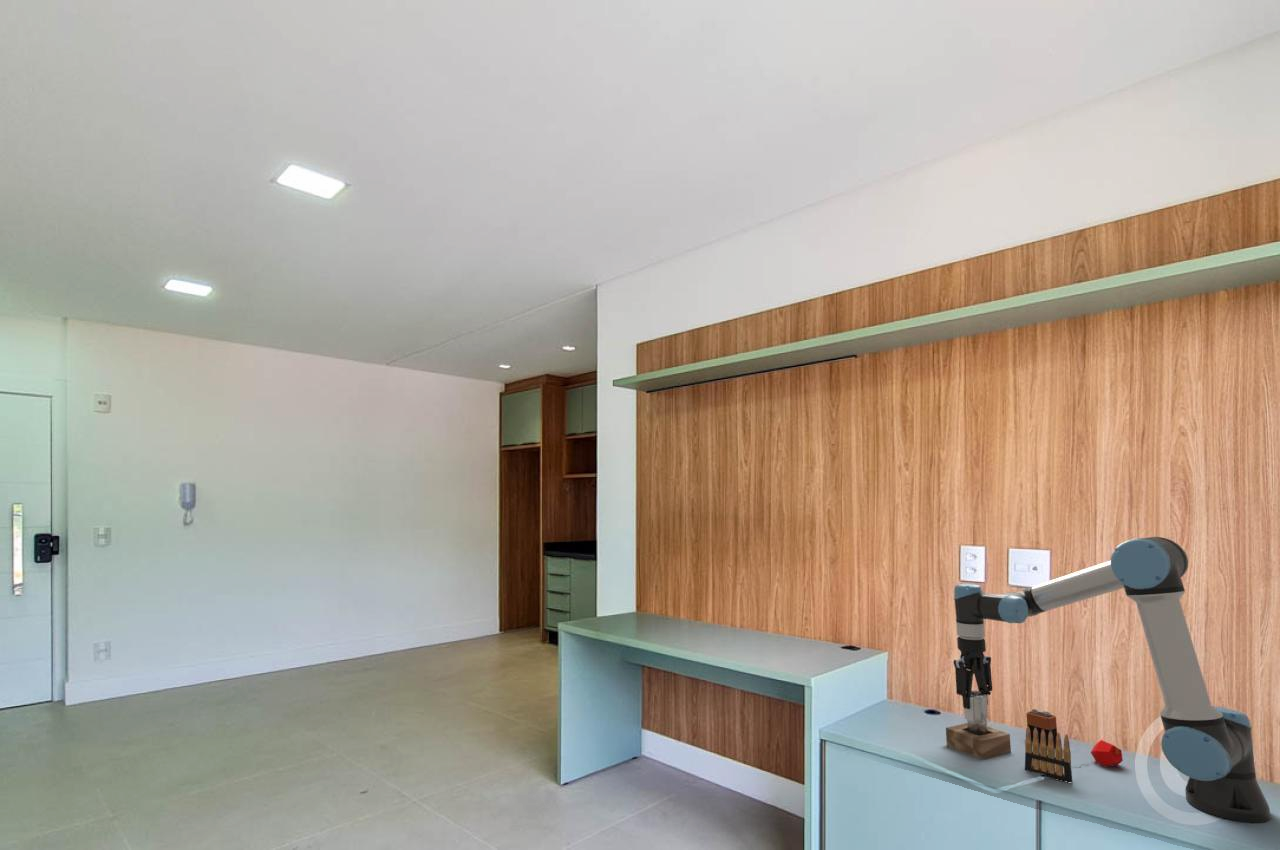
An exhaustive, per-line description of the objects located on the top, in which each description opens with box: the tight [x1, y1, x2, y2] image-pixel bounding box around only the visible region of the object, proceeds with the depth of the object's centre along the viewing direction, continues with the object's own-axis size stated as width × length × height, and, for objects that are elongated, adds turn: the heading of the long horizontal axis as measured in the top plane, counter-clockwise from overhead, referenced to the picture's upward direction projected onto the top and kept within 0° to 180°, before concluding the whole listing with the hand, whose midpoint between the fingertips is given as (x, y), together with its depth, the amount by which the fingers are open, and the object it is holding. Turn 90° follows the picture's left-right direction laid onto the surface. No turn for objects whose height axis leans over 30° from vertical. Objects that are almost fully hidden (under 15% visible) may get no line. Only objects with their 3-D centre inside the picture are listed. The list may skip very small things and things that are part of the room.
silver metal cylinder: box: [966, 689, 988, 736], centre depth 193 cm, size 5×5×14 cm
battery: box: [1025, 708, 1058, 748], centre depth 198 cm, size 4×7×10 cm, turn 33°
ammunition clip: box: [1024, 725, 1073, 783], centre depth 175 cm, size 11×2×12 cm, turn 52°
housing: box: [945, 722, 1012, 760], centre depth 193 cm, size 12×12×6 cm
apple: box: [1090, 739, 1124, 767], centre depth 183 cm, size 7×7×8 cm
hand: (976, 718), depth 193 cm, fingers closed on silver metal cylinder, 5 cm apart
